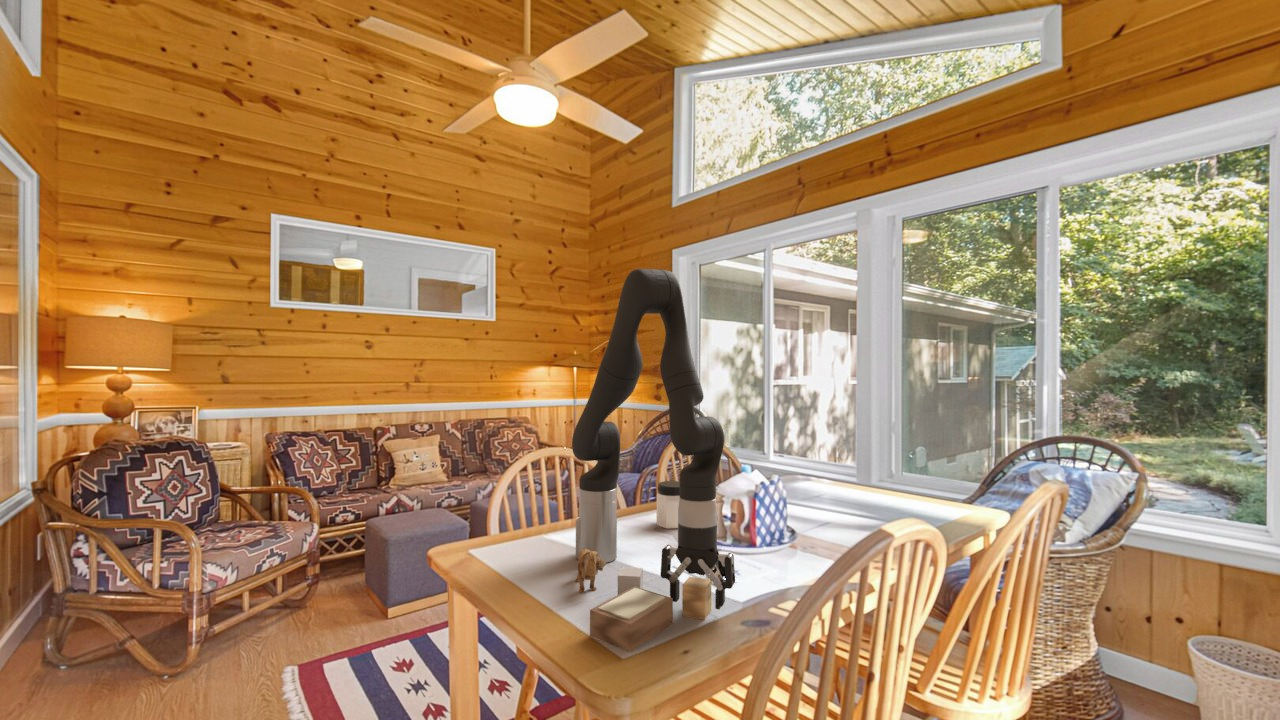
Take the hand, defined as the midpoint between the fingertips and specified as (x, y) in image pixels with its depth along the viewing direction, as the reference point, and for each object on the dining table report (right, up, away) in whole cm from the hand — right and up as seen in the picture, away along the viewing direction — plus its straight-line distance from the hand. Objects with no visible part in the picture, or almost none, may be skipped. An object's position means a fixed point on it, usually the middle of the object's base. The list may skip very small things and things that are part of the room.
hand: (697, 604), depth 113 cm
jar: (-2, -1, +58) cm, 58 cm away
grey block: (-13, -2, +5) cm, 14 cm away
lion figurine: (-22, -2, +13) cm, 26 cm away
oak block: (0, -2, 0) cm, 2 cm away
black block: (+8, -2, +19) cm, 21 cm away
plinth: (-12, -2, -7) cm, 14 cm away
